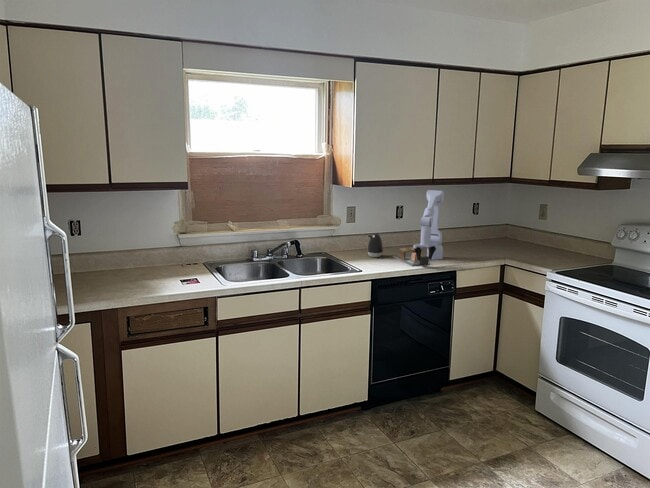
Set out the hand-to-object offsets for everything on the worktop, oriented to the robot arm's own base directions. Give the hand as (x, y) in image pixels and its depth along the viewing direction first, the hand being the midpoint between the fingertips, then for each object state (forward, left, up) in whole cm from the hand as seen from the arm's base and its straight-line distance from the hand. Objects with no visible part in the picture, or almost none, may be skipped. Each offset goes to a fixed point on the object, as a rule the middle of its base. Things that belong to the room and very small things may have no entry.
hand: (424, 259), depth 292 cm
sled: (0, -6, -3) cm, 7 cm away
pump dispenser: (+17, -32, -5) cm, 37 cm away
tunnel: (0, -18, -4) cm, 19 cm away
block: (0, -10, -2) cm, 10 cm away
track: (0, -16, -4) cm, 17 cm away
